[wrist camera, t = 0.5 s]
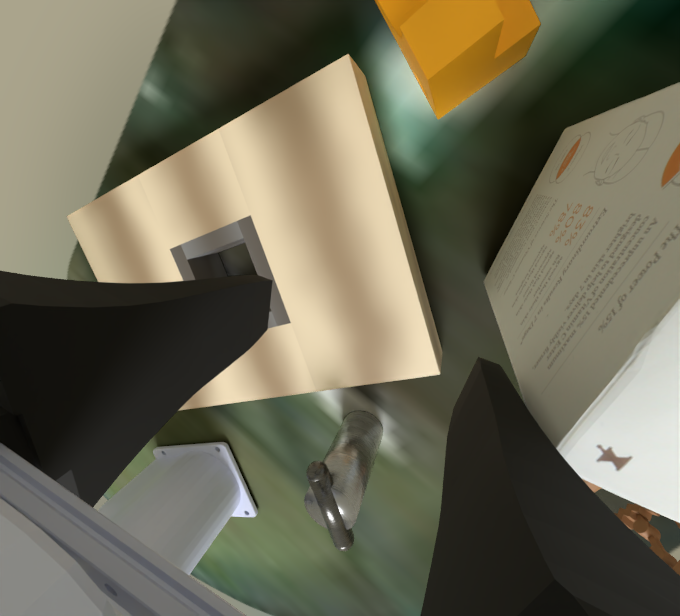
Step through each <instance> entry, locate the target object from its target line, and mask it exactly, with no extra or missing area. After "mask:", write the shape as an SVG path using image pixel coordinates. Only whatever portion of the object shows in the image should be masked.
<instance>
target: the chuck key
mask: <svg viewBox="0 0 680 616" xmlns="http://www.w3.org/2000/svg"><path fill="white" fill-rule="evenodd" d="M382 436H383V428H382V425H381V423H380V422H379V420H378V419H377V418H376V417H375V416H373V415H372V414H370V413H368V412H365V411H353V412H351V413H349V414H348V415H347V416H346V417H345V419H344V421H343V423H342V425H341V427H340V429H339V431H338V433H337V435H336V437H335V439H334V441H333V443H332V444H331V446H330V448H329V450H328V452H327V454H326V456H325V458H324V460H323V462H322V461H314V462H312V463H311V464H310V465H309V466H308V469H307V478H308V481H309V483H310V487H309V489H308V491H307V493H306V495H305V500H304V502H305V507H306V510H307V512H308V513H309V515H310V516H311V517H312V518H313V519H314V520H315V521H316V522H317V523H318V524H320V525H321V526H323V527H325V528H327V529H328V530H329V533H330V535H331V538H332V540H333V543H334V545H335V547H336V548H337V549H338V550H340V551H347V550H349V549H350V548H351V547H352V545H353V542H354V534H353V531H352V529H351V528H352V527H353V525H354V524H355V522H356V518H357V515H358V512H359V509H360V506H361V503H362V499H363V496H364V493H365V490H366V487H367V484H368V480H369V477H370V474H371V471H372V468H373V465H374V461H375V458H376V455H377V452H378V449H379V446H380V442H381V439H382Z"/></svg>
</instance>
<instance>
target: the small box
mask: <svg viewBox="0 0 680 616" xmlns="http://www.w3.org/2000/svg"><path fill="white" fill-rule="evenodd" d="M484 285H485V288H486V291H487V294H488V297H489V300H490V303H491V305H492V308H493V311H494V314H495V317H496V320H497V323H498V326H499V329H500V331H501V335H502V337H503V340H504V343H505V346H506V349H507V352H508V355H509V358H510V361H511V363H512V366H513V369H514V372H515V375H516V378H517V381H518V384H519V387H520V390H521V393H522V396H523V399H524V401H525V404H526V407H527V409H528V410H529V412H530V413H531V415H532V416H533V418H534V419H535V421H536V422H537V423H538V425H539V426H540V428H541V429H542V430H543V432H544V433H545V434H546V436H547V437H548V438H549V440H550V441H551V442H552V444H553V445H554V446H555V448H556V449H557V450H558V452H559V453H560V454H561V455H562V457H563V458H564V459H565V460H566V461H567V462H568V464H569V465H570V466H571V467H572V468H573V469H574V471H575V472H576V473H577V474H578V475H579V476H580V478H581V479H584V480H586V481H588V482H590V483H592V484H594V485H597V486H599V487H601V488H603V489H605V490H607V491H609V492H612V493H614V494H616V495H618V496H620V497H623V498H625V499H627V500H629V501H631V502H634V503H636V504H638V505H640V506H642V507H645V508H647V509H649V510H651V511H654V512H656V513H658V514H661V515H663V516H665V517H667V518H670V519H672V520H674V521H676V522H679V523H680V82H679V83H676V84H674V85H671V86H669V87H666V88H664V89H662V90H659V91H657V92H654V93H652V94H650V95H647V96H645V97H642V98H639V99H636V100H634V101H631V102H629V103H626V104H623V105H621V106H619V107H617V108H614V109H611V110H609V111H606V112H604V113H602V114H599V115H597V116H594V117H592V118H589V119H587V120H584V121H582V122H580V123H577V124H575V125H572V126H570V127H567V128H566V129H565V130H564V131H563V133H562V135H561V137H560V139H559V140H558V142H557V144H556V146H555V148H554V150H553V152H552V153H551V155H550V157H549V159H548V161H547V163H546V164H545V166H544V168H543V170H542V172H541V174H540V175H539V177H538V179H537V181H536V183H535V185H534V187H533V188H532V190H531V192H530V194H529V196H528V198H527V200H526V202H525V203H524V205H523V207H522V209H521V211H520V213H519V215H518V217H517V219H516V221H515V222H514V224H513V226H512V228H511V230H510V232H509V234H508V236H507V238H506V239H505V241H504V243H503V245H502V247H501V249H500V251H499V253H498V254H497V256H496V258H495V260H494V262H493V264H492V266H491V268H490V270H489V272H488V274H487V276H486V278H485V280H484Z"/></svg>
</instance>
